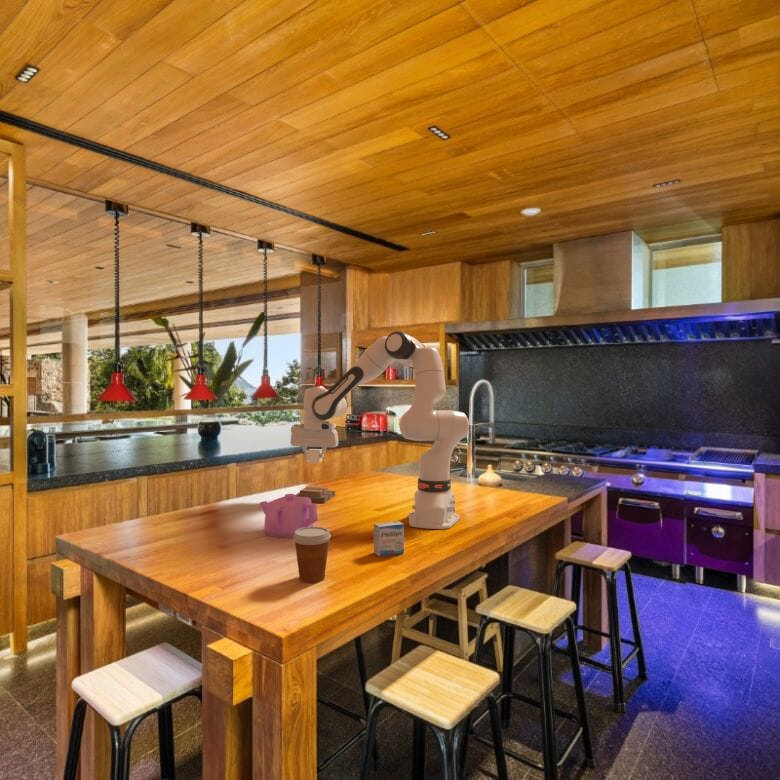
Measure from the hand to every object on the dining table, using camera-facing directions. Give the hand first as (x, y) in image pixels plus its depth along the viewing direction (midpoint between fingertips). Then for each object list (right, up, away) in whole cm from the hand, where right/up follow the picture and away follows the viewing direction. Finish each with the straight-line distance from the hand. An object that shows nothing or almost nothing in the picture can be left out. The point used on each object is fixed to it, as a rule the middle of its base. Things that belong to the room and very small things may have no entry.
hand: (314, 457), depth 223 cm
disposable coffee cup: (+12, -20, -88) cm, 91 cm away
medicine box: (+31, -19, -69) cm, 78 cm away
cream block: (0, -2, 0) cm, 2 cm away
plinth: (0, -17, 0) cm, 17 cm away
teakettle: (-2, -19, -47) cm, 50 cm away
